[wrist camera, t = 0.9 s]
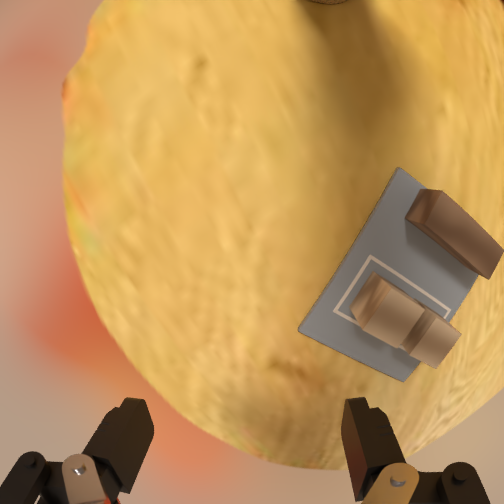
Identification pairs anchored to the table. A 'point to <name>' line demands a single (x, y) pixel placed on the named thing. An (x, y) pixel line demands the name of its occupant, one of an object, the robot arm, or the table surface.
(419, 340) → the pillar
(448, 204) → the lintel
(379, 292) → the tan wooden cube
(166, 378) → the table surface
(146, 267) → the table surface
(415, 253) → the board
